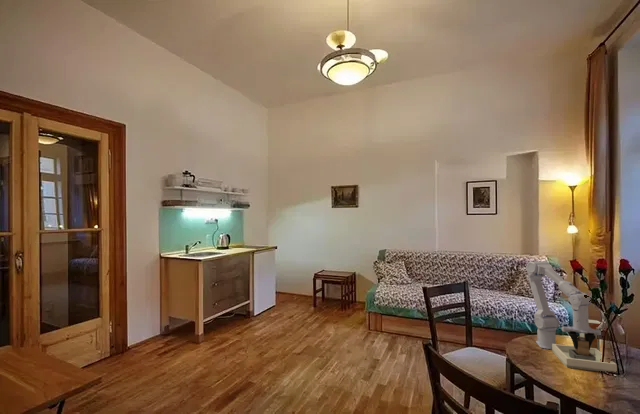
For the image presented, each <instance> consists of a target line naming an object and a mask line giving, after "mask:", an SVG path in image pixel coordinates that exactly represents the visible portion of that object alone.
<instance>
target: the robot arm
mask: <svg viewBox="0 0 640 414" xmlns="http://www.w3.org/2000/svg"><path fill="white" fill-rule="evenodd" d="M525 269H526V272H527V279H528V282H529V286H530V288H531V289H530V290H531V292H532V295H533V296H532V297H533V298H534V302H535V307H536V309H537V310H536V312H535V313H534V314H533V316H534V325H535V326H536V327H537V330H536V332H537V334H536V335H537V340H535V343H536V344H537V345H538V346H539V347H540V348H541V349H545V350H546V349H547V350H552V344H557V340H556V339H557V336H556V335H557V334H556V331H557V329H558V328H559V327H560V321H559V319H558V318H557V316H556V313H555V312H553V311H552V310H551V309H550V307H549V302H548V300H547V299H548V298H547V296H546V293H545V289H544V287H543V282H542V279H543V277H545V276H546V277H548V278H549V279H550V280H552V281H553V282H554V283H555V284H556V285H558V290H559V291H561V292H562V293H563V295H565V296H566V297H567V298H568V302H569V303H570V306H571V308H572V309H571V310H572V326H561V331H562V332H564V333H567V334H568V335H569V337H570V339H571V342H572V344H573V345H572V346H574V348H576V349H578V343H577V340H578V337H579V335H578V334H580V333H584V334H585V339H586V340H587V341H588V342H589V350H590V347H591V344H592V342H593V340H594V339H595V335H594V334H597V335H601V331H600V330H596V329H590V328H589V320H590V318H589V306H590V305H591V303H592V299H591V297H590V295H589V294H588V293H587V292H582V291H581V290H580V289H578V288H577V287H576V286H575V285H573V283H572V281H569V280H568V281H567V280H565V279H563V278H562V277H561V275H559V274H558V273H557V272H556V271H555V270H554V269H553V265H551V264H550V262H548V261H546V260H543V261H528V262H527V264H526V265H525ZM584 295H587V296H589V297H587V298H585V297H584ZM590 300H591V301H590ZM589 301H590V302H589ZM577 333H578V334H577Z"/></svg>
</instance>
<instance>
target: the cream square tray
mask: <svg viewBox="0 0 640 414" xmlns="http://www.w3.org/2000/svg"><path fill="white" fill-rule="evenodd" d="M551 351H552V353H553V354H554V355H555V356H556V357H557V358H558V359H559V361H560V362H561V363H562V364H563V365H564V366H565V367H566V368H567V369H568V368H569V369H576V370H584V371H592V372H599V371H600V372H601V371H617V372H618V365H617V363H616V362H614V361H613V360H612V361H610V363H608V362H600V359H601V355H602V354H601V352H600V351H599V350H598V349H597V348H590V350H589V355H583V354H578V353H577V352H576V351H575V348H574V345H568V344H559V343H556V344H552V349H551ZM600 372H599V373H600ZM601 373H602V372H601Z"/></svg>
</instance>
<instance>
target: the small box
mask: <svg viewBox="0 0 640 414" xmlns="http://www.w3.org/2000/svg"><path fill="white" fill-rule="evenodd" d="M600 323H602V322H601V321H599V320H597V319H596V320H595V319H589V328H590V329H596V327H598V326H599V325H600ZM596 330H597V329H596ZM594 335H595V339H594V340H593V342H592V344H591V347H590V348H596V349H598V345H597V334H594ZM579 337H584V338H585V334H584V333H579Z"/></svg>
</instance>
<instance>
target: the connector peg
mask: <svg viewBox="0 0 640 414" xmlns="http://www.w3.org/2000/svg"><path fill="white" fill-rule="evenodd" d="M577 343H578V349H576V348H575V351H576V352H577V353H578V354H583V355H589V342H588V341H587V340H586V339H585V338H584V337H580V336H578V340H577Z"/></svg>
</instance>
